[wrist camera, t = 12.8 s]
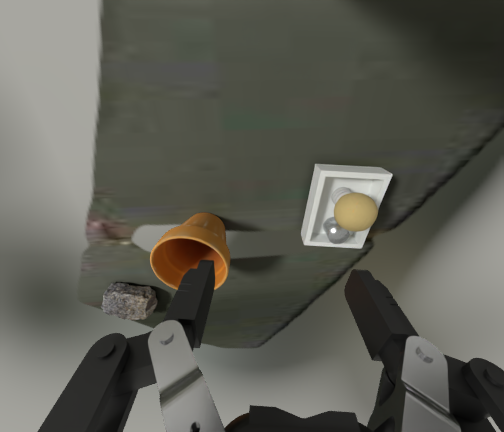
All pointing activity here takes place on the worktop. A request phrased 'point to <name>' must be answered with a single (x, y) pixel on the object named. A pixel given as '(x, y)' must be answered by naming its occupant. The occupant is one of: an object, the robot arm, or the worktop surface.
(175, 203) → the worktop surface
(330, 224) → the grey rounded piece
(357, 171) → the tray
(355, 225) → the amber frosted bulb
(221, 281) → the flower pot
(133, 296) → the rock
